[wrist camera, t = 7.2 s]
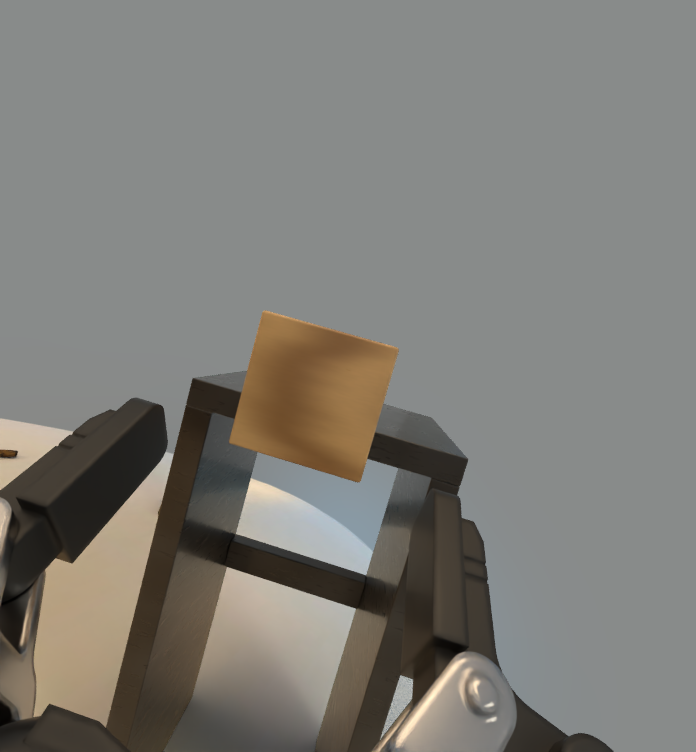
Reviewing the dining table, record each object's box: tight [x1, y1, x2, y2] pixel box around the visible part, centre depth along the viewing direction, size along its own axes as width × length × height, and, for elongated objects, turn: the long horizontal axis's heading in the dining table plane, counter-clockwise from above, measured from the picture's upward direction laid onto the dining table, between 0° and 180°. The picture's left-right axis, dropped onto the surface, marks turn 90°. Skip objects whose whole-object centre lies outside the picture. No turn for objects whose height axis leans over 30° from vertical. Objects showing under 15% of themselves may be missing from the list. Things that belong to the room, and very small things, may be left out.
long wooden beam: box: [229, 311, 399, 482], centre depth 22 cm, size 4×22×4 cm, turn 176°
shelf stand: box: [106, 371, 468, 752], centre depth 26 cm, size 15×12×31 cm
